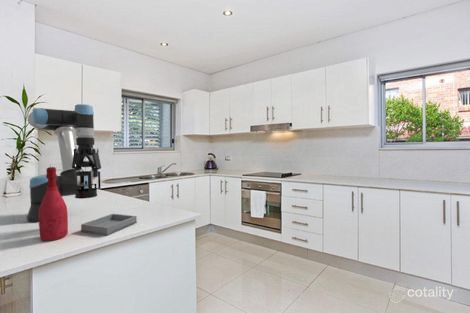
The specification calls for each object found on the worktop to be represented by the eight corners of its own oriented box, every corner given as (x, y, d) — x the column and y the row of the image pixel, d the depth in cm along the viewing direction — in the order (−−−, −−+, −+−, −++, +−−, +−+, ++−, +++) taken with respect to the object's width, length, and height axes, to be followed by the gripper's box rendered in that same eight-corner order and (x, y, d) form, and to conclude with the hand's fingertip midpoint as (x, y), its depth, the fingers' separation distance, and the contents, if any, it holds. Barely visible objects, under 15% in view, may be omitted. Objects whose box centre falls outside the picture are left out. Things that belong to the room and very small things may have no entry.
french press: (78, 199, 113) (76, 149, 112) (70, 197, 119) (68, 149, 117) (104, 195, 122) (103, 149, 121) (95, 193, 128) (94, 149, 127)
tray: (81, 232, 111) (81, 224, 110) (113, 220, 128) (112, 213, 127) (107, 235, 106) (106, 227, 106) (136, 223, 123) (136, 216, 123)
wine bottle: (49, 233, 109) (46, 166, 107) (73, 232, 110) (70, 165, 108) (33, 242, 99) (30, 168, 98) (59, 241, 100) (56, 168, 98)
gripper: (61, 137, 119) (63, 183, 120) (95, 136, 112) (97, 185, 113) (76, 137, 126) (77, 181, 127) (108, 136, 119) (110, 183, 120)
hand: (87, 183), depth 120 cm, fingers closed on french press, 9 cm apart
